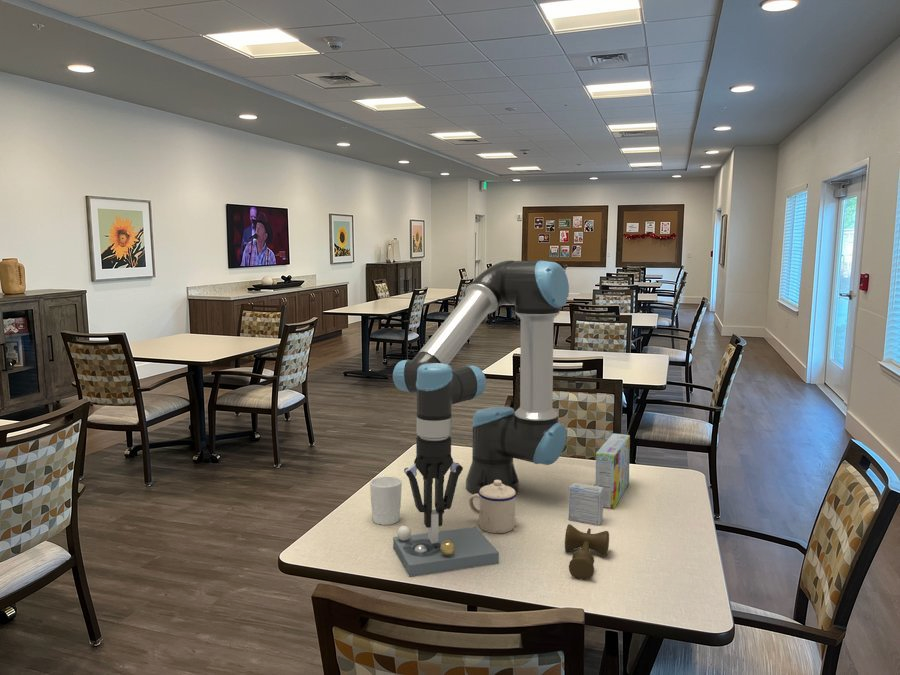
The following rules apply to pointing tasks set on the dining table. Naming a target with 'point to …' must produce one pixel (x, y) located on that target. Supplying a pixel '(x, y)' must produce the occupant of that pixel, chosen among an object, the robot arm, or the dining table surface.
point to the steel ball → (420, 548)
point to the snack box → (613, 468)
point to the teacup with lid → (495, 507)
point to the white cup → (386, 499)
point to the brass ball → (447, 548)
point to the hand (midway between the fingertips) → (433, 540)
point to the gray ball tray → (467, 554)
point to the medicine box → (586, 503)
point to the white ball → (404, 533)
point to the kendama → (584, 550)
